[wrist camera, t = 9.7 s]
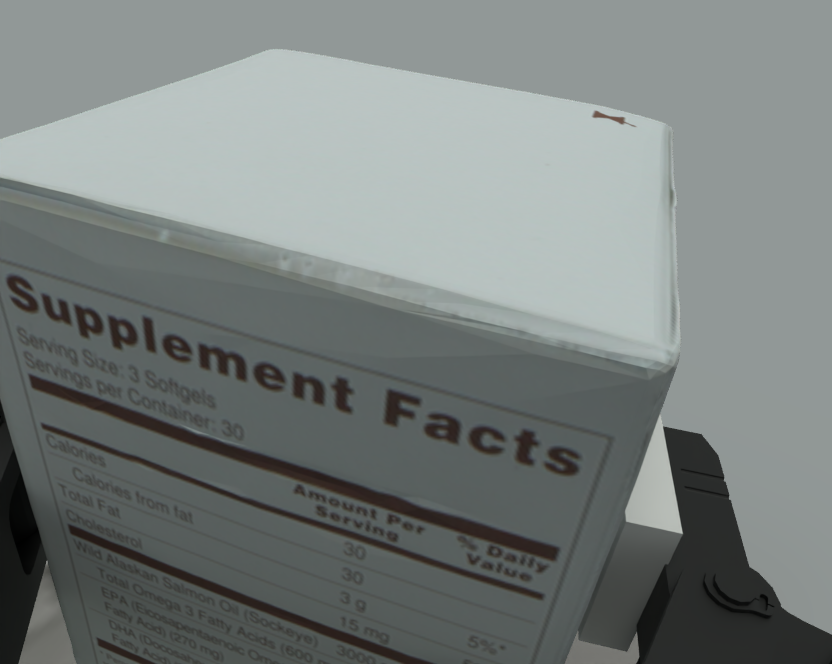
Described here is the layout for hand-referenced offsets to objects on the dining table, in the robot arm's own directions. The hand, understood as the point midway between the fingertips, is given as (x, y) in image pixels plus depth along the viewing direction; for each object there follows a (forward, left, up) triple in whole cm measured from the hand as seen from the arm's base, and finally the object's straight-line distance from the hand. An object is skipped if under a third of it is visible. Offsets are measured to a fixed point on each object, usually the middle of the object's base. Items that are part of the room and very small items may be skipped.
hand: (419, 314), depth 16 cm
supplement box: (0, +5, -7) cm, 9 cm away
